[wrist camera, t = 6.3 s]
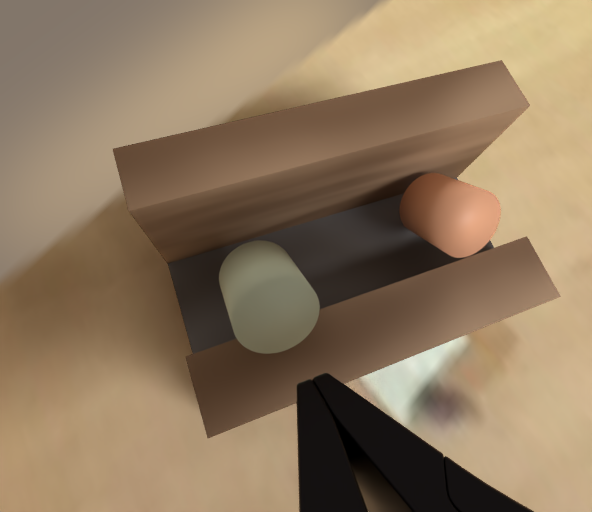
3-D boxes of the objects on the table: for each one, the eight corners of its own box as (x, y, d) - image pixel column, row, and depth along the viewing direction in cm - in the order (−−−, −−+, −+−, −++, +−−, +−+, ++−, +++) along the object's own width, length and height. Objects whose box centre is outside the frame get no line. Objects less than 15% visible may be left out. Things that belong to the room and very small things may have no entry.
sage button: (315, 341, 15) (337, 328, 11) (245, 367, 15) (243, 362, 11) (281, 248, 16) (290, 207, 12) (215, 269, 16) (202, 232, 12)
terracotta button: (470, 260, 19) (530, 228, 15) (418, 278, 18) (466, 250, 14) (433, 187, 20) (479, 138, 16) (383, 202, 19) (417, 155, 15)
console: (487, 315, 22) (637, 276, 13) (220, 421, 18) (192, 458, 10) (414, 171, 24) (501, 60, 16) (169, 241, 21) (112, 148, 13)
